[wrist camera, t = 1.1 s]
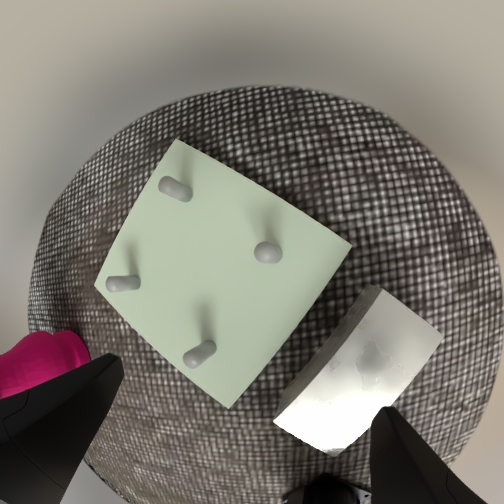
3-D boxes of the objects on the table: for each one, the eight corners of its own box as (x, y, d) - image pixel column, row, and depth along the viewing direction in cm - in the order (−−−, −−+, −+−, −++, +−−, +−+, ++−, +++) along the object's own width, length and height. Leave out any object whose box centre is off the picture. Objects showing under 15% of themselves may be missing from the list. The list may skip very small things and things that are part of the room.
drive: (367, 283, 18) (383, 288, 13) (416, 320, 17) (444, 336, 12) (280, 392, 19) (267, 426, 14) (329, 424, 18) (329, 461, 13)
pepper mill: (52, 328, 25) (-84, 347, 6) (83, 322, 24) (-86, 348, 4) (69, 384, 24) (-58, 425, 5) (103, 386, 23) (-50, 447, 3)
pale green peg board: (350, 246, 18) (359, 241, 14) (233, 402, 19) (214, 428, 15) (182, 143, 22) (157, 123, 17) (102, 284, 23) (70, 286, 19)
